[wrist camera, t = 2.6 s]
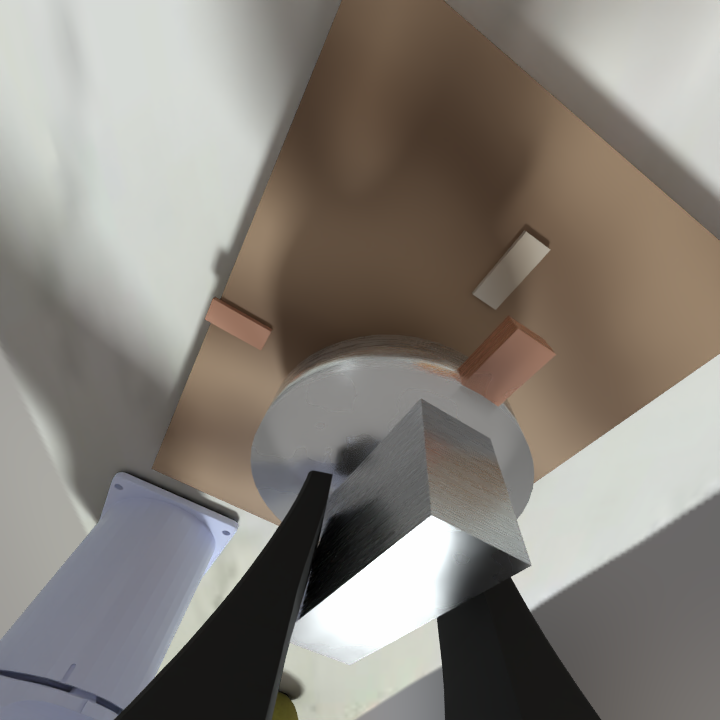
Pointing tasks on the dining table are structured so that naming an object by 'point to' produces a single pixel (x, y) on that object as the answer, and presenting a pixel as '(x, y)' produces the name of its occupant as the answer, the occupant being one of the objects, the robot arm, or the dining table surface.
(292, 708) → the apple
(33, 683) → the robot arm
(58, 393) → the dining table surface
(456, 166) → the post board
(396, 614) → the cap
